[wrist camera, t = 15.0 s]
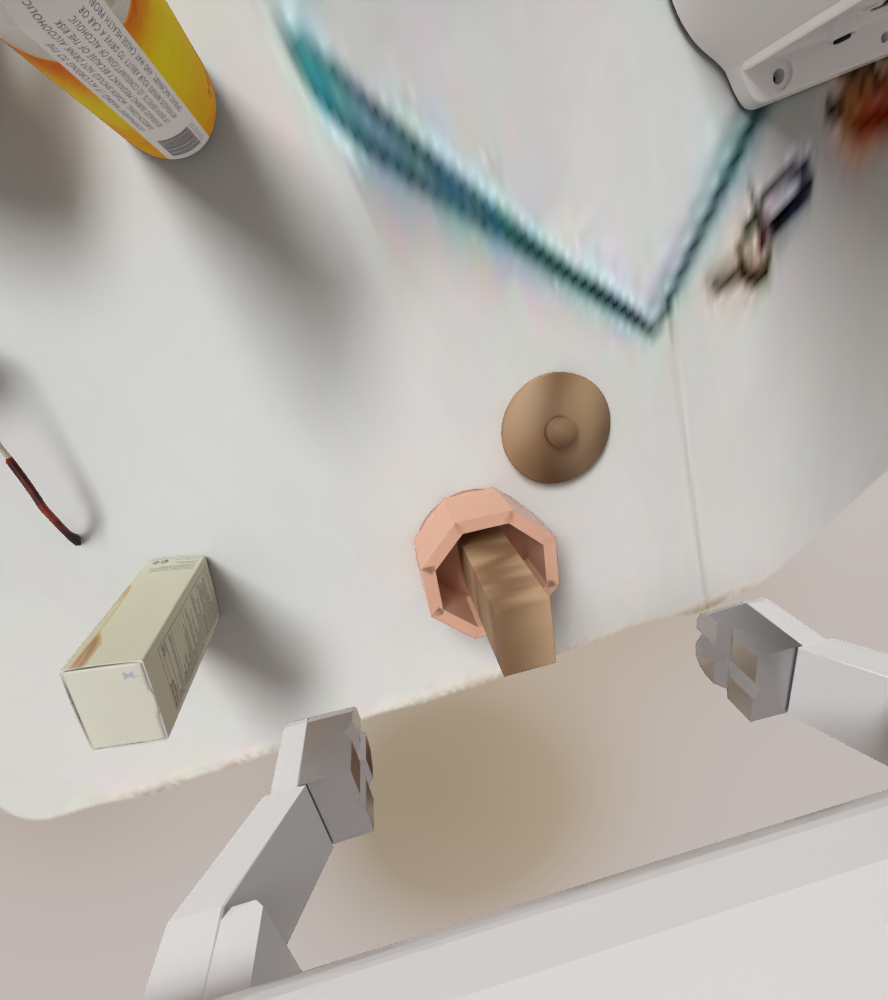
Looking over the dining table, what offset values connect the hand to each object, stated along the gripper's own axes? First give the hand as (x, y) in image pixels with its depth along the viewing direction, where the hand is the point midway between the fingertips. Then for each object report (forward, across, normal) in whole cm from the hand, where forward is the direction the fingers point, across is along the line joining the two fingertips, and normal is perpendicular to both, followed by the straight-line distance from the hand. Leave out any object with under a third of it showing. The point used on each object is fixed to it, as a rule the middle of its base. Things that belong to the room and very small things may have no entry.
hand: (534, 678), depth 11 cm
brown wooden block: (+26, -3, +12) cm, 29 cm away
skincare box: (+27, +21, +9) cm, 35 cm away
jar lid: (+28, -11, +3) cm, 30 cm away
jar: (+27, -3, +12) cm, 30 cm away
